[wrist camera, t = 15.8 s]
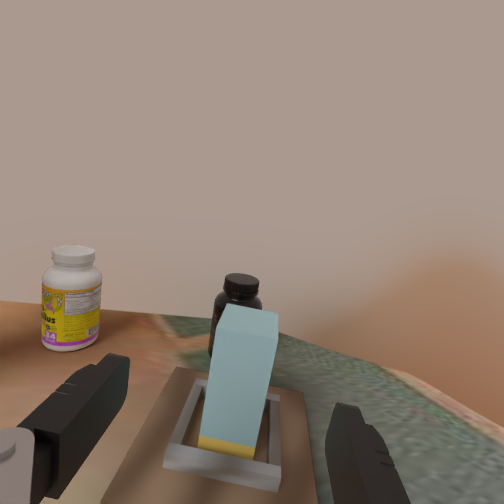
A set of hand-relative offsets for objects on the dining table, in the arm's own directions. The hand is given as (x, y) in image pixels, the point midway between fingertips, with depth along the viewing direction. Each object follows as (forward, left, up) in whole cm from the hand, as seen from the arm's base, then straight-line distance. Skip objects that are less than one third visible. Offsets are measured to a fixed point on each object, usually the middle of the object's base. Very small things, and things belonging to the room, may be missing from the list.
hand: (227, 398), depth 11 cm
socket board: (-9, +11, -17) cm, 22 cm away
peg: (-9, +11, -15) cm, 21 cm away
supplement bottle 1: (-34, +4, -17) cm, 38 cm away
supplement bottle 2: (-20, +21, -17) cm, 33 cm away
